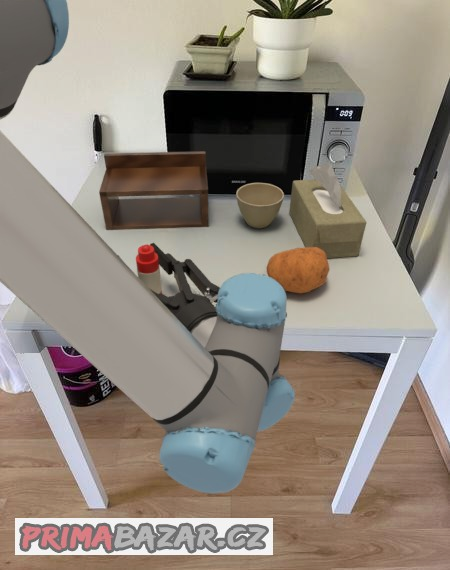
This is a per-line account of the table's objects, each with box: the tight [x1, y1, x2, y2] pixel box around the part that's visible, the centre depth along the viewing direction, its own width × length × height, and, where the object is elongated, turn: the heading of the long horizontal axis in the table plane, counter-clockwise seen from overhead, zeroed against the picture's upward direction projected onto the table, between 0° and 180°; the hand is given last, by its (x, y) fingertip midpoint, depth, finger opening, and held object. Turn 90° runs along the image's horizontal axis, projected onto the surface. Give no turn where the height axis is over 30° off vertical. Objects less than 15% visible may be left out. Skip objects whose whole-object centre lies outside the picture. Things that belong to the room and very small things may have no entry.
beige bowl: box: [235, 182, 285, 229], centre depth 95 cm, size 10×10×7 cm
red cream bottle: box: [135, 244, 163, 294], centre depth 74 cm, size 4×4×11 cm
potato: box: [265, 246, 330, 294], centre depth 79 cm, size 9×11×8 cm
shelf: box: [98, 150, 209, 231], centre depth 96 cm, size 22×12×12 cm, turn 94°
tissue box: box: [288, 162, 367, 259], centre depth 90 cm, size 19×10×16 cm, turn 7°
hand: (135, 255), depth 77 cm, fingers open, 6 cm apart
